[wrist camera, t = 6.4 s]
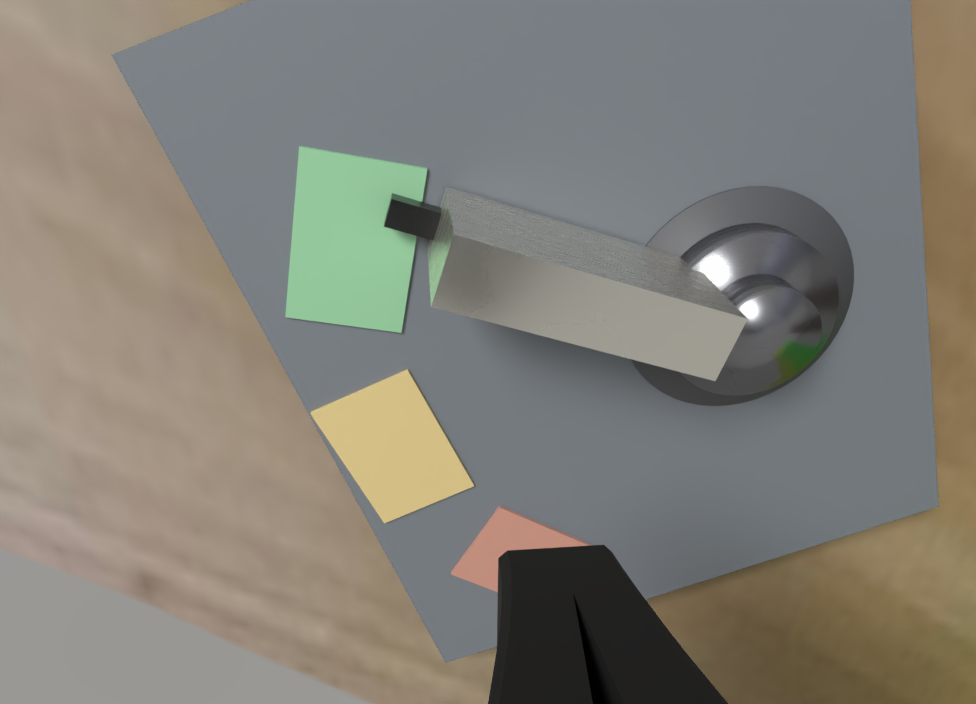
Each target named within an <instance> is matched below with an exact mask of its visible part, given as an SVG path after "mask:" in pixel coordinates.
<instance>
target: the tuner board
mask: <svg viewBox="0 0 976 704" xmlns="http://www.w3.org/2000/svg"><path fill="white" fill-rule="evenodd" d="M112 56H113V58H114V60H115V62H116V64H117V66H118V67H119V69H120V71H121V73H122V75H123V76H124V78H125V80H126V82H127V84H128V86H129V87H130V89H131V91H132V93H133V95H134V96H135V98H136V100H137V102H138V104H139V106H140V107H141V109H142V111H143V113H144V115H145V117H146V118H147V120H148V122H149V124H150V126H151V127H152V129H153V131H154V133H155V135H156V137H157V138H158V140H159V142H160V144H161V146H162V147H163V149H164V151H165V153H166V155H167V157H168V158H169V160H170V162H171V164H172V166H173V167H174V169H175V171H176V173H177V175H178V177H179V178H180V180H181V182H182V184H183V186H184V187H185V189H186V191H187V193H188V195H189V197H190V198H191V200H192V202H193V204H194V206H195V208H196V209H197V211H198V213H199V215H200V217H201V218H202V220H203V222H204V224H205V226H206V228H207V229H208V231H209V233H210V235H211V237H212V238H213V240H214V242H215V244H216V246H217V248H218V249H219V251H220V253H221V255H222V257H223V258H224V260H225V262H226V264H227V266H228V268H229V269H230V271H231V273H232V275H233V277H234V278H235V280H236V282H237V284H238V286H239V288H240V289H241V291H242V293H243V295H244V297H245V299H246V300H247V302H248V304H249V306H250V308H251V309H252V311H253V313H254V315H255V317H256V319H257V320H258V322H259V324H260V326H261V328H262V329H263V331H264V333H265V335H266V337H267V339H268V340H269V342H270V344H271V346H272V348H273V349H274V351H275V353H276V355H277V357H278V359H279V360H280V362H281V364H282V366H283V368H284V369H285V371H286V373H287V375H288V377H289V379H290V380H291V382H292V384H293V386H294V388H295V390H296V391H297V393H298V395H299V397H300V399H301V400H302V402H303V404H304V406H305V408H306V410H307V411H308V413H309V415H310V417H311V419H312V420H313V422H314V424H315V426H316V428H317V430H318V431H319V433H320V435H321V437H322V439H323V440H324V442H325V444H326V446H327V448H328V450H329V451H330V453H331V455H332V457H333V459H334V460H335V462H336V464H337V466H338V468H339V470H340V471H341V473H342V475H343V477H344V479H345V481H346V482H347V484H348V486H349V488H350V490H351V491H352V493H353V495H354V497H355V499H356V501H357V502H358V504H359V506H360V508H361V510H362V511H363V513H364V515H365V517H366V519H367V521H368V522H369V524H370V526H371V528H372V530H373V531H374V533H375V535H376V537H377V539H378V541H379V542H380V544H381V546H382V548H383V550H384V551H385V553H386V555H387V557H388V559H389V561H390V562H391V564H392V566H393V568H394V570H395V572H396V573H397V575H398V577H399V579H400V581H401V582H402V584H403V586H404V588H405V590H406V592H407V593H408V595H409V597H410V599H411V601H412V602H413V604H414V606H415V608H416V610H417V612H418V613H419V615H420V617H421V619H422V621H423V622H424V624H425V626H426V628H427V630H428V632H429V633H430V635H431V637H432V639H433V641H434V642H435V644H436V646H437V648H438V650H439V652H440V653H441V655H442V657H443V659H444V661H445V663H447V662H450V661H453V660H456V659H459V658H462V657H466V656H469V655H472V654H475V653H478V652H481V651H485V650H488V649H491V648H494V647H497V610H498V558H499V557H500V556H501V555H503V554H504V553H505V552H506V551H508V550H524V549H541V548H557V547H574V546H591V545H605V546H606V547H607V548H608V549H609V550H610V551H612V553H613V554H614V556H615V557H616V559H617V560H618V562H619V563H620V565H621V566H622V568H623V569H624V570H625V572H626V573H627V575H628V576H629V578H630V579H631V580H632V582H633V583H634V585H635V586H636V587H637V589H638V590H639V592H640V593H641V594H642V596H643V597H644V598H645V599H649V598H652V597H655V596H658V595H661V594H664V593H667V592H671V591H674V590H677V589H680V588H683V587H686V586H690V585H693V584H696V583H699V582H702V581H705V580H708V579H712V578H715V577H718V576H721V575H724V574H727V573H731V572H734V571H737V570H740V569H743V568H746V567H749V566H753V565H756V564H759V563H762V562H765V561H768V560H772V559H775V558H778V557H781V556H784V555H787V554H790V553H794V552H797V551H800V550H803V549H806V548H809V547H813V546H816V545H819V544H822V543H825V542H828V541H831V540H835V539H838V538H841V537H844V536H847V535H850V534H854V533H857V532H860V531H863V530H866V529H869V528H872V527H876V526H879V525H882V524H885V523H888V522H891V521H895V520H898V519H901V518H904V517H907V516H910V515H913V514H917V513H920V512H923V511H926V510H929V509H932V508H936V507H939V503H938V485H937V467H936V449H935V431H934V413H933V396H932V378H931V360H930V342H929V324H928V306H927V288H926V270H925V252H924V234H923V217H922V199H921V181H920V163H919V145H918V127H917V109H916V91H915V73H914V55H913V38H912V20H911V2H910V0H250V1H248V2H245V3H243V4H240V5H237V6H235V7H232V8H230V9H227V10H225V11H222V12H220V13H217V14H215V15H212V16H209V17H207V18H204V19H202V20H199V21H197V22H194V23H192V24H189V25H186V26H184V27H181V28H179V29H176V30H174V31H171V32H169V33H166V34H164V35H161V36H158V37H156V38H153V39H151V40H148V41H146V42H143V43H141V44H138V45H135V46H133V47H130V48H128V49H125V50H123V51H120V52H118V53H115V54H113V55H112ZM446 187H449V188H453V189H456V190H459V191H463V192H466V193H469V194H473V195H476V196H479V197H483V198H486V199H489V200H493V201H496V202H499V203H503V204H506V205H509V206H513V207H516V208H519V209H523V210H526V211H529V212H533V213H536V214H539V215H543V216H546V217H549V218H553V219H556V220H559V221H563V222H566V223H569V224H573V225H576V226H579V227H583V228H586V229H589V230H593V231H596V232H599V233H603V234H606V235H609V236H612V237H616V238H619V239H622V240H626V241H629V242H632V243H636V244H639V245H642V246H646V247H649V248H652V249H656V250H659V251H662V252H666V253H669V254H672V255H676V256H679V257H681V256H682V255H683V254H684V253H685V252H686V251H687V250H688V249H689V248H690V247H691V246H693V245H694V244H695V243H697V242H698V241H700V240H701V239H703V238H704V237H706V236H708V235H710V234H711V233H714V232H716V231H718V230H721V229H723V228H727V227H730V226H733V225H739V224H745V223H764V224H771V225H775V226H779V227H781V228H784V229H786V230H788V231H790V232H792V233H793V234H795V235H797V236H798V237H800V238H801V239H803V240H804V241H805V242H807V243H808V244H810V245H811V246H813V247H814V248H815V249H817V250H818V251H819V252H820V253H821V254H822V255H823V256H824V257H825V259H826V260H827V261H828V262H829V264H830V266H831V267H832V269H833V271H834V274H835V277H836V279H837V284H838V289H839V307H838V313H837V317H836V321H835V324H834V327H833V329H832V332H831V334H830V336H829V338H828V340H827V341H826V343H825V345H824V346H823V348H822V349H821V351H820V352H819V353H818V354H817V355H816V357H815V358H814V359H813V360H812V361H811V362H810V363H809V364H808V365H807V366H806V367H805V368H804V369H802V370H801V371H800V372H799V373H797V374H796V375H795V376H793V377H792V378H790V379H789V380H787V381H785V382H783V383H781V384H779V385H778V386H775V387H773V388H770V389H768V390H765V391H761V392H758V393H754V394H748V395H737V396H731V395H721V394H716V393H712V392H709V391H706V390H703V389H701V388H699V387H697V386H695V385H694V384H692V383H691V382H689V381H688V380H687V379H686V378H685V377H684V376H683V375H682V374H681V373H680V372H678V371H674V370H670V369H666V368H663V367H659V366H655V365H651V364H647V363H643V362H640V361H636V360H632V359H628V358H624V357H621V356H617V355H613V354H609V353H605V352H601V351H598V350H594V349H590V348H586V347H582V346H579V345H575V344H571V343H567V342H563V341H559V340H556V339H552V338H548V337H544V336H540V335H536V334H533V333H529V332H525V331H521V330H517V329H514V328H510V327H506V326H502V325H498V324H494V323H491V322H487V321H483V320H479V319H475V318H471V317H468V316H464V315H460V314H456V313H452V312H449V311H445V310H441V309H437V308H433V307H431V299H430V283H429V266H428V249H427V247H428V244H429V241H430V240H429V239H426V238H422V237H419V236H415V235H412V234H408V233H405V232H401V231H397V230H394V229H390V228H387V227H384V221H385V217H386V213H387V210H388V206H389V202H390V199H391V195H392V193H393V194H397V195H400V196H404V197H407V198H410V199H414V200H417V201H421V202H424V203H427V204H431V205H434V206H438V207H440V205H441V201H442V198H443V195H444V192H445V188H446Z"/></svg>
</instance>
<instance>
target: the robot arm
mask: <svg viewBox="0 0 976 704" xmlns="http://www.w3.org/2000/svg"><path fill="white" fill-rule="evenodd" d="M488 704H728V703H727V702H726V701H725V699H724V698H723V697H722V696H721V695H720V693H719V692H718V691H717V690H716V689H715V687H714V686H713V685H712V684H711V683H710V681H709V680H708V679H707V678H706V676H705V675H704V674H703V673H702V672H701V670H700V669H699V668H698V667H697V666H696V664H695V663H694V662H693V661H692V659H691V658H690V657H689V656H688V655H687V653H686V652H685V651H684V650H683V648H682V647H681V646H680V645H679V643H678V642H677V641H676V639H675V638H674V637H673V636H672V634H671V633H670V632H669V630H668V629H667V628H666V627H665V625H664V624H663V623H662V621H661V620H660V619H659V617H658V616H657V615H656V613H655V612H654V611H653V609H652V608H651V607H650V605H649V604H648V603H647V601H646V600H645V598H644V597H643V596H642V594H641V593H640V592H639V590H638V589H637V587H636V586H635V585H634V583H633V582H632V580H631V579H630V578H629V576H628V575H627V573H626V572H625V570H624V569H623V568H622V566H621V565H620V563H619V562H618V560H617V559H616V557H615V556H614V554H613V553H612V551H610V550H609V549H608V548H607V547H606V546H605V545H591V546H574V547H557V548H541V549H524V550H508V551H506V552H505V553H504V554H503V555H501V556H500V557H499V558H498V610H497V653H496V659H495V665H494V672H493V678H492V684H491V690H490V696H489V702H488Z"/></svg>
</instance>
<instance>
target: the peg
mask: <svg viewBox="0 0 976 704" xmlns="http://www.w3.org/2000/svg"><path fill="white" fill-rule="evenodd" d="M384 227H387V228H390V229H394V230H397V231H401V232H405V233H408V234H412V235H415V236H419V237H422V238H426V239H429V240H430V241H429V244H428V247H427V249H428V266H429V283H430V299H431V307H433V308H437V309H441V310H445V311H449V312H452V313H456V314H460V315H464V316H468V317H471V318H475V319H479V320H483V321H487V322H491V323H494V324H498V325H502V326H506V327H510V328H514V329H517V330H521V331H525V332H529V333H533V334H536V335H540V336H544V337H548V338H552V339H556V340H559V341H563V342H567V343H571V344H575V345H579V346H582V347H586V348H590V349H594V350H598V351H601V352H605V353H609V354H613V355H617V356H621V357H624V358H628V359H632V360H636V361H640V362H643V363H647V364H651V365H655V366H659V367H663V368H666V369H670V370H674V371H678V372H680V373H681V374H682V375H683V376H684V377H685V378H686V379H687V380H688V381H689V382H691V383H692V384H694V385H695V386H697V387H699V388H701V389H703V390H706V391H709V392H712V393H716V394H721V395H731V396H737V395H748V394H754V393H758V392H761V391H765V390H768V389H770V388H773V387H775V386H778V385H779V384H781V383H783V382H785V381H787V380H789V379H790V378H792V377H793V376H795V375H796V374H797V373H799V372H800V371H801V370H802V369H804V368H805V367H806V366H807V365H808V364H809V363H810V362H811V361H812V360H813V359H814V358H815V357H816V355H817V354H818V353H819V352H820V351H821V349H822V348H823V346H824V345H825V343H826V341H827V340H828V338H829V336H830V334H831V332H832V329H833V327H834V324H835V321H836V317H837V313H838V307H839V289H838V284H837V279H836V277H835V274H834V271H833V269H832V267H831V266H830V264H829V262H828V261H827V260H826V259H825V257H824V256H823V255H822V254H821V253H820V252H819V251H818V250H817V249H815V248H814V247H813V246H811V245H810V244H808V243H807V242H805V241H804V240H803V239H801V238H800V237H798V236H797V235H795V234H793V233H792V232H790V231H788V230H786V229H784V228H781V227H779V226H775V225H771V224H764V223H745V224H739V225H733V226H730V227H727V228H723V229H721V230H718V231H716V232H714V233H711V234H710V235H708V236H706V237H704V238H703V239H701V240H700V241H698V242H697V243H695V244H694V245H693V246H691V247H690V248H689V249H688V250H687V251H686V252H685V253H684V254H683V255H682V256H681V257H679V256H676V255H672V254H669V253H666V252H662V251H659V250H656V249H652V248H649V247H646V246H642V245H639V244H636V243H632V242H629V241H626V240H622V239H619V238H616V237H612V236H609V235H606V234H603V233H599V232H596V231H593V230H589V229H586V228H583V227H579V226H576V225H573V224H569V223H566V222H563V221H559V220H556V219H553V218H549V217H546V216H543V215H539V214H536V213H533V212H529V211H526V210H523V209H519V208H516V207H513V206H509V205H506V204H503V203H499V202H496V201H493V200H489V199H486V198H483V197H479V196H476V195H473V194H469V193H466V192H463V191H459V190H456V189H453V188H449V187H446V188H445V192H444V195H443V198H442V201H441V205H440V207H438V206H434V205H431V204H427V203H424V202H421V201H417V200H414V199H410V198H407V197H404V196H400V195H397V194H393V193H392V195H391V199H390V202H389V206H388V210H387V213H386V217H385V221H384Z"/></svg>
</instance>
